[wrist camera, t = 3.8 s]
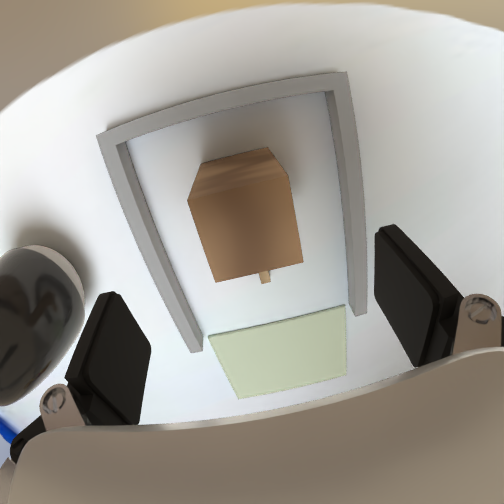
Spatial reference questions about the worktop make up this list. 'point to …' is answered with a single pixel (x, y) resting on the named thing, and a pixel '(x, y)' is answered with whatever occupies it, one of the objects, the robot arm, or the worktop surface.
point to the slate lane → (330, 83)
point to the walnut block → (245, 215)
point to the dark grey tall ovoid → (36, 317)
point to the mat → (284, 353)
